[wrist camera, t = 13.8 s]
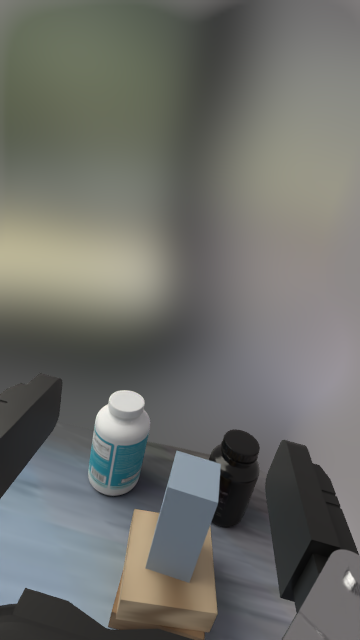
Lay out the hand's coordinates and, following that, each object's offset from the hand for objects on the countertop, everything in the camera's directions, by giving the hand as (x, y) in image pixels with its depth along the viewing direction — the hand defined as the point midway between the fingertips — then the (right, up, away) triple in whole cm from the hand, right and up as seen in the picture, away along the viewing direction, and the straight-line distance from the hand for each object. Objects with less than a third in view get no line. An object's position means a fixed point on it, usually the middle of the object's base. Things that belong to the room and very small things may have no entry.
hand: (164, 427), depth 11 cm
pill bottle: (-9, -19, +36) cm, 42 cm away
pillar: (0, -21, +22) cm, 30 cm away
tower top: (-1, -23, +23) cm, 33 cm away
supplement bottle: (+6, -23, +35) cm, 43 cm away
